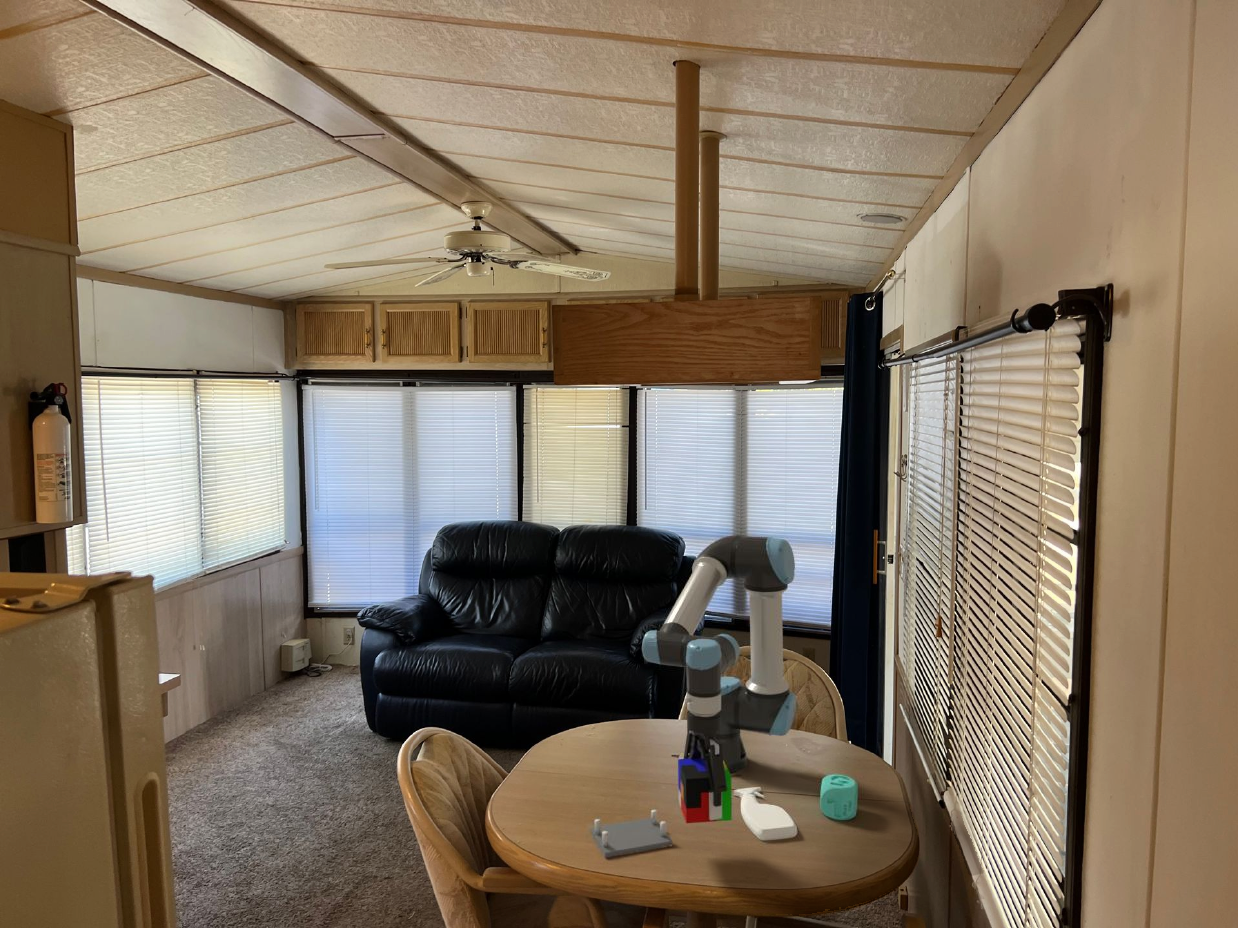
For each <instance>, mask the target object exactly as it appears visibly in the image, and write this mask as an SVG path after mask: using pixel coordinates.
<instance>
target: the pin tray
mask: <svg viewBox="0 0 1238 928" xmlns="http://www.w3.org/2000/svg"><path fill="white" fill-rule="evenodd" d="M650 813H651V814H650V817H645V818H638V819H634V820H627V821H622V822H615V823H608V824H604V825H601V823H602V822H601V819H600V818H595V819H594V826H590V827H589V833H590V835H591V837H592V838H593V840H594V842H595V844H596V845H597V847H598V848H599V850H600V853H601V854H602V855H603V857H604V859H607V858H613V857H619V856H624V855H628V854H629V855H630V854H634V853H635V852H636V853H642V852H645V851H644V850H647V851H652V850H656V849H655V848H658V849H661V848H660V847H663V846H669V847H671V846H670V845H672V846H673V840H672V839H671V837H670V836H669V835H668V833H667V822H666V821H665V820H663V821H660V823H659V822H658V810H657V809H651V811H650ZM663 848H664V847H663ZM651 849H652V850H651ZM618 855H619V856H618Z"/></svg>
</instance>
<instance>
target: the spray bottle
mask: <svg viewBox="0 0 1238 928" xmlns="http://www.w3.org/2000/svg"><path fill="white" fill-rule="evenodd" d="M760 792H762V787H760V786H758V787H755V786H753V787H752V786H751V787H745V788H737V789H735V790H733V796H735V797H739V798H740V799H741V800H740V813H741V817H742V819H743V821H744V822H745V824H746V826H747V827H748V829H749V830H750V831H751V832H752V834H754V835H755V836H756V838H758V840H760V841H763V842H764V841H775V840H782V839H783V840H785V839H791V838H795V837H797V834H798V828H797V824H795V822H794V820H793V818H792V817H791V815H790V814H788V812H786V811H785V809H784V808H782V807H781V806H778V805H773V804H767V803H759V801H758V799H757V797H760V798H763V799H765V795H763V794H761V793H760Z"/></svg>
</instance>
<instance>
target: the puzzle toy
mask: <svg viewBox="0 0 1238 928" xmlns="http://www.w3.org/2000/svg"><path fill="white" fill-rule="evenodd" d="M723 763H724V761H723ZM677 767H678V768H677V769H678V771H677V776H678V777H677V778H678V779H677V781H678V782H677V784H678V785H677V787H678V788H677V789H678V791H677V792H678V795H677V796H678V804H679V807H680V809H681V813H682V814H683V815H682V816H683V818H684V821H685V823H686V824H698V823H709V822H710V823H714V822H725V821H728V822H729V821H732V820H733V817H732V810H733V809H732V805H733V804H732V803H733V799H732V796H733V795H732V793H733V791H732V774H731V773H730V772H729V770H728V769H727V767H726V765H725V763H724V770H725V777H726V785H727V791H725V792H722V818H721V819H716V820H710V819H709V792H708V790H710V789H711V787H710V782H709V778H708V773H707V769H706V764H705V761H704V760H703V759H702V758H697V759H684V758H678V759H677Z"/></svg>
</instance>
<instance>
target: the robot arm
mask: <svg viewBox="0 0 1238 928" xmlns="http://www.w3.org/2000/svg"><path fill="white" fill-rule="evenodd" d="M794 555H795V554H794V552H793V549H792V547H791V545H790V542H788V541H787V540H786V539H783V538H775V537H773V536H750V535H749V536H748V535H738V534H737V535H735V534H733V535H727V536H724V537H720V538H719V539H717V540H715V541H713V542H712V543H710V544H708V545H707V546H706V547H705V548H704V549H703V550H702V551H701V552H700V553H699V554H698V555H697V557H696V558H695V559H694V562H693V564H692V567H691V569H692V570H691V571H692V573H691V575H690V577H689V579H688V580H687V582H686V583H685V586H684V588H682V590H681V593H680V594H679V596H678V598H677V599H676V601H675V603H674V605H673V606H672V608H671V611H670V612H669V614H668V616H667V618H666V619H665V620H664V623H663V624H662V626H661V628H660V629H659V630H657V629H654V630H649V631H647V632H646V633H645V634H644V636H643V639H642V645H641V652H642V656H643V658H644V660H645V661H647V662H649V663H653V664H659V665H660V666H661V665H664V666H665V665H666V666H673V667H674V666H675V667H682V668H686V698H685V699H684V700H685V703H686V704H687V705H686V706H687V707H686V708H687V712H686V728H687V729H686V730H687V733H686V739H685V746H684V753H683V759H697V758H702V759H703V760H704V761H705V764H706V769H707V773H708V778H709V782H710V787H711V789H710V790H708V792H709V819H710V820H716V819H721V818H722V792H725V791H727V785H726V777H725V770H724V763H725V765H726V767H727V769H728V770H729V772H736V771H739V770H742V769H743V768H745V767H746V765H747V763H748V761H747V760H748V759H747V757H748V755H747V752H746V748H745V746H744V742H743V738H742V736H741V735H742V734H741V730H742V731H746V732H752V733H758V734H762V735H769V736H776V737H777V736H778V737H779V736H780V737H783V736H786V735H787V734H788V733H789V732H790V730H791V728H792V725H793V721H794V718H795V714H796V708H797V695H796V694H795V693H793V692H790V684H789V683H788V682H787V681H786V680H785V679H784V655H783V654H784V653H783V652H784V647H783V646H784V644H783V643H784V642H783V641H784V639H783V637H784V636H783V633H784V631H783V594H784V592H786V591H787V590H788V587H789V586H788V585H789V584H792V582H794V579H795V570H796V564H795V562H796V561H795V556H794ZM729 579H735V580H743V588H744V590H745V591H746V592H747V593H748V594H749V624H750V625H749V627H750V628H749V631H750V632H749V633H750V637H749V638H750V642H749V643H750V678H749V679H748V680H747V681H746V682H745V686H744V685H742V682H741V680H740V679H739V678H737V677H734V676H723V674H725V672H727V671H728V670H730V668H733V666H734V665H735V664H736V662H737V660H738V659H739V657H740V652H741V650H740V644H739V643H738V642H737V640H736V639H735V638H734V637H733V636H731V635H729V634H726V633H720V634H717V635H715V636H713V637H710V636H701V635H694V633H695V631H696V630H697V628H698V626H699V624H700V622H701V620H702V618H703V617H704V614H705V612H706V611H707V608H708V607H709V605H710V604H711V601H712V599H713V597H714V595H715V593H716V591H717V590H718V588H719V587H721V586H722V585H724V583H726V581H727V580H729ZM723 761H724V763H723Z"/></svg>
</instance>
